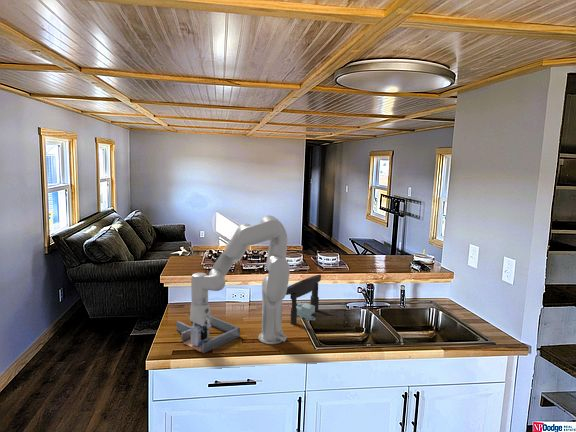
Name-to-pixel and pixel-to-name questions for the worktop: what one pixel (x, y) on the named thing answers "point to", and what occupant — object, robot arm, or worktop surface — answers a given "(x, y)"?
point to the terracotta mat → (193, 345)
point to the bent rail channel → (208, 345)
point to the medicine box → (197, 335)
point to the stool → (300, 290)
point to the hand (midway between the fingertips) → (200, 336)
